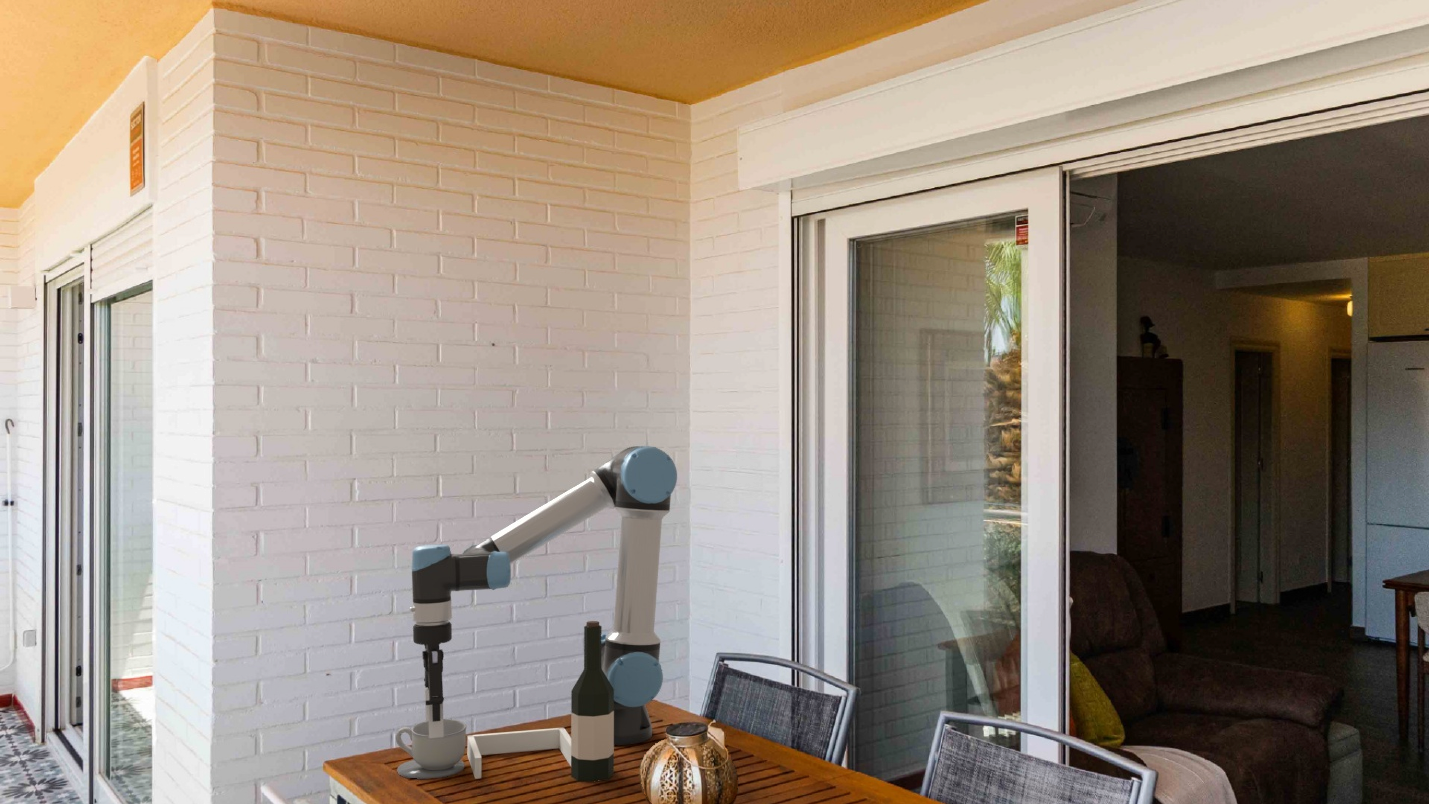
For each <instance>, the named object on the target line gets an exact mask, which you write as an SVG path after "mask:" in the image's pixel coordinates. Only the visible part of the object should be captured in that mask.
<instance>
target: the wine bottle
mask: <svg viewBox="0 0 1429 804" xmlns="http://www.w3.org/2000/svg"><path fill="white" fill-rule="evenodd" d="M602 629H603V627H602V625H600V621H598V620H596V621H595V620H589V621H587V622H586V625H585V626H583V638H584V639H583V650H584V651H583V671H581V673H580V675H579V677H578V679H577V680H576V682H575V684H574V686H573V688H572V689H571V693H570V694H571V695H570V696H571V698H570V699H571V703H570V705H571V711H570V712H571V714H570V716H571V718H570V719H571V720H570V721H571V726H570V729H571V730H570V731H571V732H570V737H571V766H570V767H571V768H570V777H571V778H573V779H574V780H576V781H577V782H586V781H587V783H589V782H590V783H595V782H594V781H597V782H599V781H598V780H602V781H606V779H608V780H610V779H611V778H612V777H613V776H614V775H613V774H615V772H614V771H615V770H614V769H615V768H614V766H615V765H614V764H615V762H614V759H615V756H614V755H615V750H614V749H615V745H614V689H613V687H612V685H611V684H610V682H609V680H608V679H607V677H606V675H605V674H604V672H603V670H602V669H601V635H602V631H603V630H602ZM612 775H613V776H612ZM611 776H612V777H611Z"/></svg>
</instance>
